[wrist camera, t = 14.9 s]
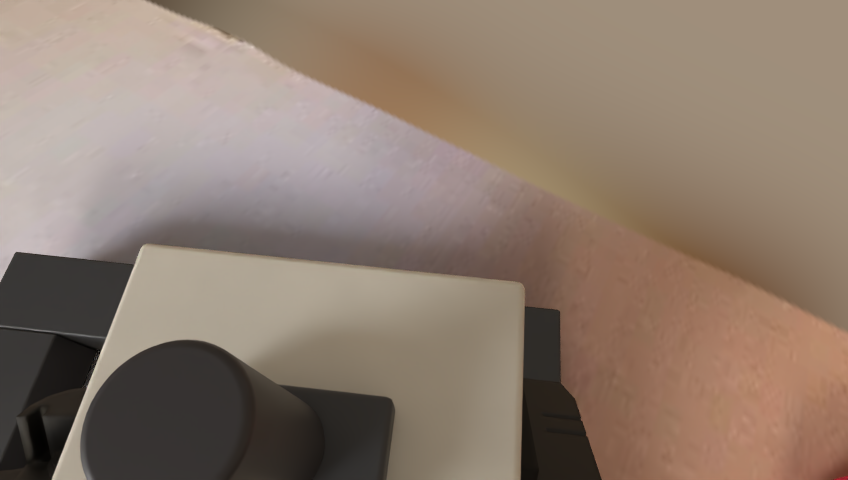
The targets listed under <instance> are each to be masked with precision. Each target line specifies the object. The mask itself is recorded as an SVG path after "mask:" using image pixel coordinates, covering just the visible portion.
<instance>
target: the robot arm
mask: <svg viewBox="0 0 848 480" xmlns="http://www.w3.org/2000/svg"><path fill="white" fill-rule="evenodd" d="M86 389H87V387H85V388H76V389H70V390H66V391H63V392H60V393H56V394H53V395H50V396H48V397H46V398H44V399H42V400H40V401H38V402H36V403H34V404H32V405H30V406H29V407H28V408H26V409H25V410H24V411H23V412H21V413H20V414H19V415H18V416H16V419H17V423H18V428H19V432H20V436H21V441H22V445H23V449H24V453H25V458H26V462H27V464H26V465H25V467H24V468H19V469H12V470H4V471H0V480H52V477H53V475H54V472H55V469H56V467H57V464H58V462H59V459H60V457H61V454H62V451H63V449H64V446H65V444H66V441H67V438H68V436H69V433H70V431H71V428H72V425H73V423H74V420H75V418H76V415H77V413H78V410H79V407H80V405H81V402H82V400H83V397H84V394H85V392H86ZM521 480H602V479H601V476H600V473H599V470H598V467H597V464H596V461H595V458H594V455H593V452H592V449H591V446H590V443H589V440H588V437H586V431H585V428H584V425H583V422H582V421H581V416H580V413H579V410H578V407H577V404H576V401H575V399H574V397H573V396H572V395H571V394H570V393H569V392H568V391H567V390H566V389H565V388H564V386H563V385H562V384H561V383H560V382H553V381H544V380H536V379H527V378H523V400H522V441H521Z"/></svg>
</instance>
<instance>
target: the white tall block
mask: <svg viewBox="0 0 848 480" xmlns="http://www.w3.org/2000/svg"><path fill="white" fill-rule="evenodd" d="M524 317H525V289H524V287H523V284H521V283H519V282H514V281H505V280H495V279H485V278H476V277H466V276H456V275H447V274H437V273H428V272H418V271H408V270H399V269H389V268H380V267H370V266H360V265H351V264H341V263H332V262H322V261H312V260H303V259H293V258H283V257H274V256H264V255H255V254H245V253H235V252H226V251H216V250H207V249H197V248H187V247H178V246H168V245H158V244H144V245H143V247H142V248H141V249H140V252H139V255H138V257H137V260H136V262H135V265H134V268H133V270H132V273H131V275H130V278H129V280H128V283H127V286H126V288H125V291H124V293H123V296H122V299H121V301H120V304H119V306H118V309H117V312H116V314H115V317H114V319H113V322H112V324H111V327H110V330H109V332H108V335H107V337H106V340H105V343H104V345H103V348H102V350H101V353H100V356H99V358H98V361H97V363H96V366H95V368H94V371H93V374H92V376H91V379H90V381H89V384H88V387H87V389H86V392H85V394H84V397H83V400H82V402H81V405H80V407H79V410H78V413H77V415H76V418H75V420H74V423H73V425H72V428H71V431H70V433H69V436H68V438H67V441H66V444H65V446H64V449H63V451H62V454H61V457H60V459H59V462H58V464H57V467H56V469H55V472H54V475H53V477H52V480H521V441H522V400H523V359H524Z"/></svg>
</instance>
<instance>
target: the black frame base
mask: <svg viewBox="0 0 848 480" xmlns="http://www.w3.org/2000/svg"><path fill="white" fill-rule="evenodd" d="M133 268H134V265H133V264H124V263H115V262H105V261H96V260H87V259H77V258H68V257H59V256H49V255H40V254H31V253H21V252H16V253H15V254H14V256H13V258H12V260H11V262H10V264H9V266H8V268H7V270H6V272H5V274H4V276H3V278H2V280H1V282H0V471H4V470H12V469H19V468H24V467H25V465H26V464H27V462H26V458H25V453H24V449H23V445H22V441H21V436H20V432H19V428H18V423H17V419H16V416H18V415H19V414H20V413H21V412H23V411H24V410H25V409H26V408H28V407H29V406H30V405H32V404H34V403H36V402H38V401H40V400H42V399H44V398H46V397H48V396H50V395H53V394H56V393H60V392H63V391H66V390H70V389H76V388H82V386H83V384H84V381H85V379H86V376H87V374H88V371H89V368H90V366H91V363H92V361H93V358H94V356H95V353H96V350H95V349H97V350H102V348H103V345H104V343H105V340H106V337H107V335H108V332H109V330H110V327H111V324H112V322H113V319H114V317H115V314H116V312H117V309H118V306H119V304H120V301H121V299H122V296H123V293H124V291H125V288H126V286H127V283H128V280H129V278H130V275H131V273H132V270H133ZM523 378H527V379H536V380H544V381H553V382H560V383H561V366H560V311H559V310H554V309H544V308H535V307H526V306H525V317H524V359H523Z"/></svg>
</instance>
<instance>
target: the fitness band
mask: <svg viewBox="0 0 848 480" xmlns="http://www.w3.org/2000/svg"><path fill="white" fill-rule="evenodd" d="M833 480H848V476H845V477H840V478H836V479H833Z"/></svg>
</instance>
